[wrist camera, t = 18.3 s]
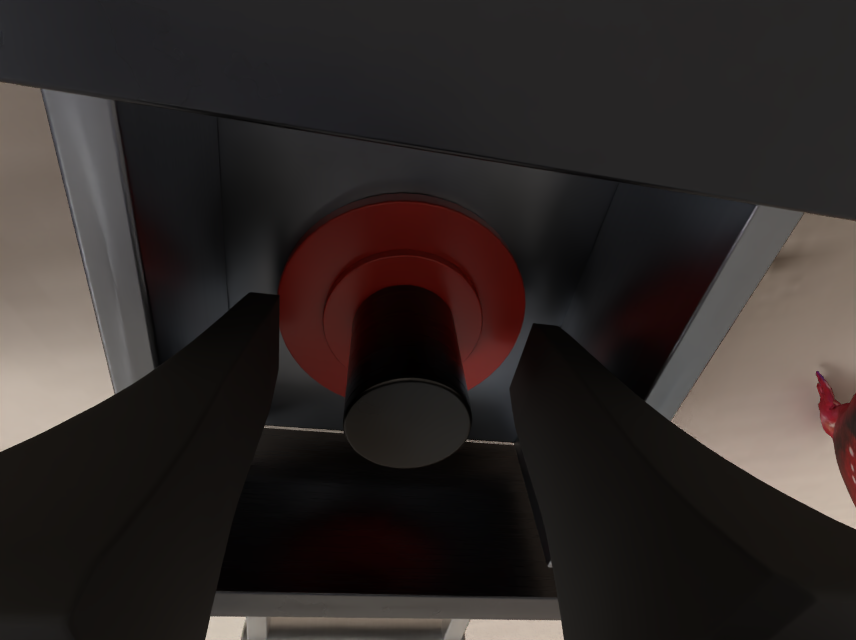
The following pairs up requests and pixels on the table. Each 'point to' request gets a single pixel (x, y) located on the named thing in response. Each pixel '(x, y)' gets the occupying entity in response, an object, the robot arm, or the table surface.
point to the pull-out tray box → (323, 409)
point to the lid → (402, 320)
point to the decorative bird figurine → (840, 431)
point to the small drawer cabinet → (493, 81)
